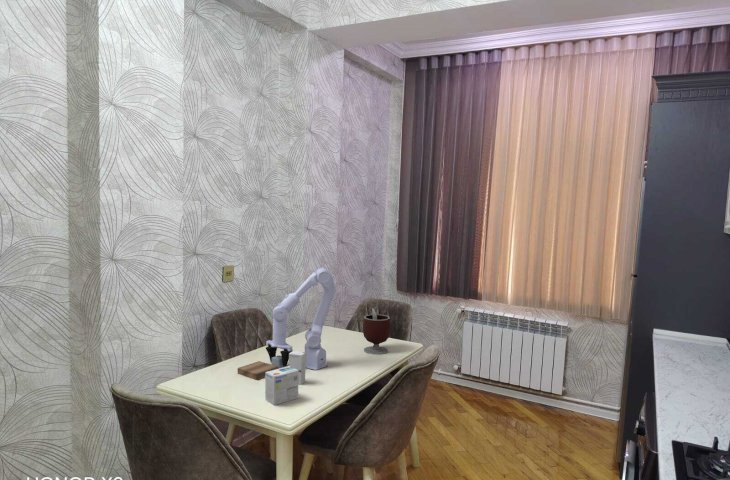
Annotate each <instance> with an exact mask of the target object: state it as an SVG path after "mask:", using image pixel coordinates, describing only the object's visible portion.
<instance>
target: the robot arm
mask: <svg viewBox="0 0 730 480" xmlns="http://www.w3.org/2000/svg"><path fill="white" fill-rule="evenodd" d="M319 284H320V285H321V286H322V288H323V290H324V291H323V293H322V296H321V299H320V302H319V304H318V307H317V310H316V313H315V315H314V318H313V321H312V323H311V324H310V327H309V328H308V330H307V331H306V332H305V334H304V338H305V340H306V343H305V344H304V352H305V353H306V368H307V369H309V370H310V369H311V370H313V371H317V370H319V369H323V368H325V367H328V364H327V351H326V349H325V348H323V347H322V344H321V343H322V338H321V337H322V334H323V327H324V324H325V323H326V319H327V316H328V313H329V310H330V307H331V305H332V302H333V299H334V297H335V294H336V292H337V291H336V285H335V280H334V277H333V275H332V273H331V272H330V271H329V270H328V269H327V268H325V267H319V268H317V269H316V270H315V271H314V272H312V273H311V274H310V275H309V276H308V278H306V280H304V281H303V283H302V284H301V285H300V286H299V287H298V288H297V289H296V290H295V292H294V293H291V292H290V293H288V294H286V295H285V296H284V299H283V300H282V301H281V302H278V304H277V306H274V308H273V309H272V317H273V319H272V322H273V323H272V339H271V340H270V339H268V340H266V347H265V350H266V352H267V354H268V357H269V360H270V361H269V362H270V364H272V357H275V356H277V351H278V349H281V350H280V351H279V352H280V356H282V365H283V366H286V367H287V366H288V365H289V353H291V352H292V351H294V349H293V346H292V345H290V344H288V343H287V342H286V341H287V339H286V338H287V336H286V335H287V323H286V319H287V316H288V315H287V314H289V313H290V312H291V311H293V309H294V308H295V307H296V306H297V305H298V304H299V303H300V298H301V297H303V295H304V294H305V293H307V291H308V290H309V289H311V288H312V287H313V286H319Z"/></svg>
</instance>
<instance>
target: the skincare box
mask: <svg viewBox="0 0 730 480" xmlns="http://www.w3.org/2000/svg"><path fill="white" fill-rule="evenodd" d="M288 366H290V367H292V368H295V369H297V370H298V385H303V384H304V383H305V382H306V372H307V371H306V353H305V351H304V352H303V351H297V350H293V351H292V352H291V353H289V360H288Z"/></svg>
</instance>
